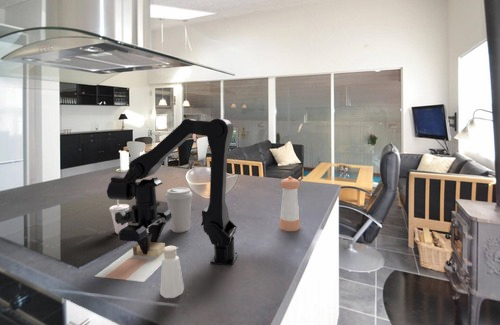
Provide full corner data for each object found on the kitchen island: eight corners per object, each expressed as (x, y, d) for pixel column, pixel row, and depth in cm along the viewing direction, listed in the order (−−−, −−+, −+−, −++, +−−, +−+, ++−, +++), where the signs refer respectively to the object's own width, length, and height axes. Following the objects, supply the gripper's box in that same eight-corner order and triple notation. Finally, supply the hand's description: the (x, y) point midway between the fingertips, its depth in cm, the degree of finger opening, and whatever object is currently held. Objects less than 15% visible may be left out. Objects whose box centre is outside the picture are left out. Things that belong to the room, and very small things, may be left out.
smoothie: (107, 235, 96) (103, 196, 94) (119, 228, 102) (116, 192, 100) (123, 237, 94) (120, 197, 92) (135, 229, 101) (132, 192, 99)
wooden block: (133, 254, 81) (132, 246, 80) (141, 248, 85) (140, 240, 84) (158, 257, 79) (157, 249, 79) (165, 250, 83) (164, 242, 83)
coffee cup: (165, 227, 102) (163, 188, 100) (190, 223, 106) (189, 185, 104) (169, 237, 94) (166, 194, 92) (196, 232, 98) (195, 191, 96)
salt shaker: (278, 230, 99) (278, 178, 96) (281, 223, 106) (281, 174, 103) (298, 232, 97) (299, 179, 94) (300, 224, 104) (301, 175, 101)
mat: (138, 244, 88) (138, 243, 88) (178, 248, 85) (178, 246, 85) (94, 277, 70) (94, 275, 70) (144, 283, 67) (143, 281, 67)
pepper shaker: (175, 302, 60) (172, 255, 58) (155, 297, 62) (151, 251, 60) (189, 288, 65) (187, 244, 63) (170, 283, 67) (167, 241, 65)
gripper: (139, 191, 90) (143, 236, 92) (98, 209, 72) (103, 264, 74) (171, 192, 88) (173, 238, 90) (136, 211, 70) (140, 268, 72)
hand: (149, 250), depth 82 cm, fingers closed on wooden block, 4 cm apart
